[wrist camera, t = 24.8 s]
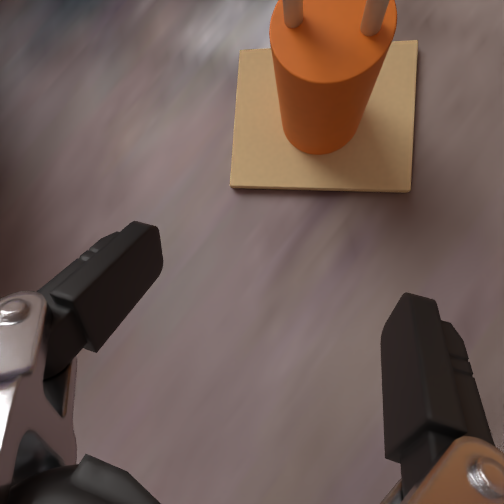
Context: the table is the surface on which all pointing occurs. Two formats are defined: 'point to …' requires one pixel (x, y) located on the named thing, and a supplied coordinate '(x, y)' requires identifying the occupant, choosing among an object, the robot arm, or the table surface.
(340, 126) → the orange cylinder
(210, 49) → the table surface
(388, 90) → the cork mat
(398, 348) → the robot arm
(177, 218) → the table surface
